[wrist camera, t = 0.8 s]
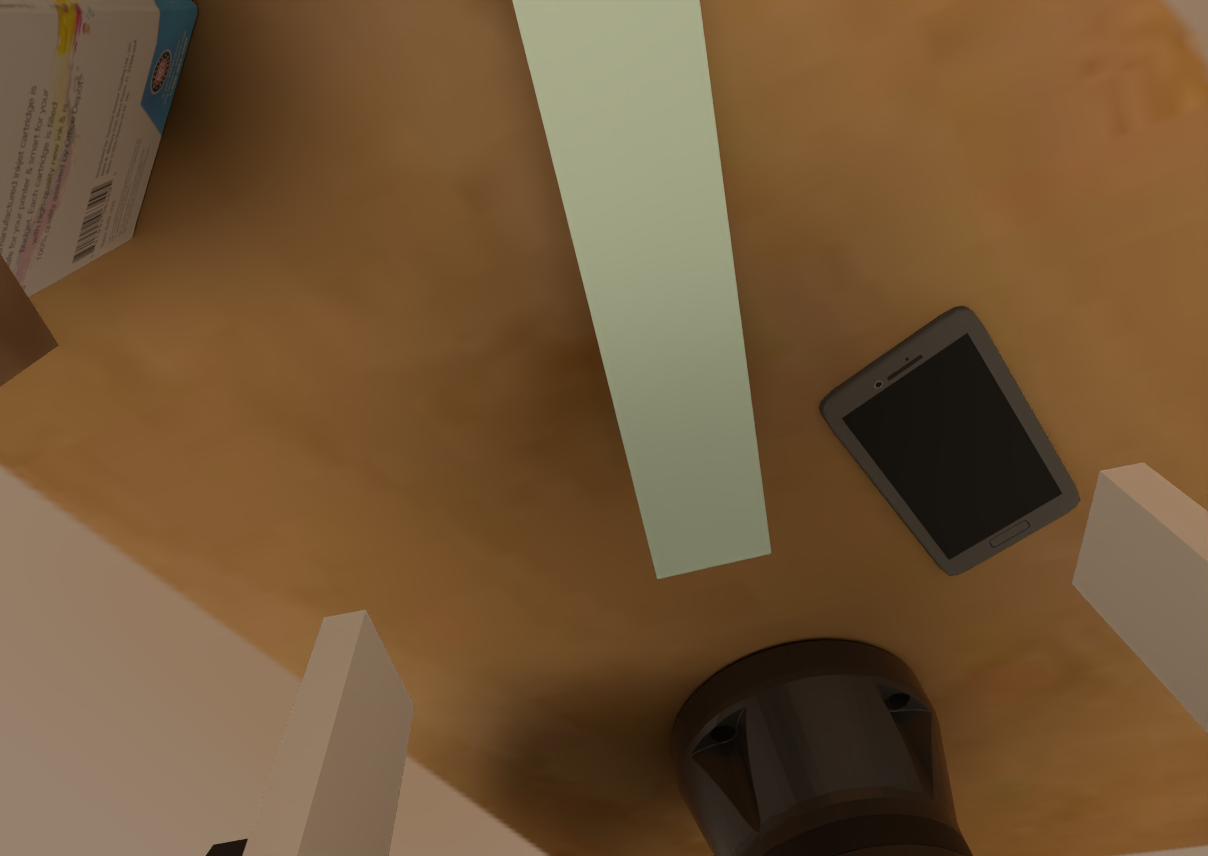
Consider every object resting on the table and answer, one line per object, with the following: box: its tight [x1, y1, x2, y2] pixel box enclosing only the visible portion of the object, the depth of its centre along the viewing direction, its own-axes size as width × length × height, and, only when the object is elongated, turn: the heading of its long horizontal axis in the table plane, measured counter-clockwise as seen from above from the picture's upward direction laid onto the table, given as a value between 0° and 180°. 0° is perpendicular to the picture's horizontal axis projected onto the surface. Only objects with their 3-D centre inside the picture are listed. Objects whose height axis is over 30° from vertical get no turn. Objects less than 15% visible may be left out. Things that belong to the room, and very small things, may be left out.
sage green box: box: [512, 0, 771, 579], centre depth 21 cm, size 27×14×8 cm, turn 13°
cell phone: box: [819, 306, 1080, 576], centre depth 33 cm, size 7×14×1 cm, turn 40°
